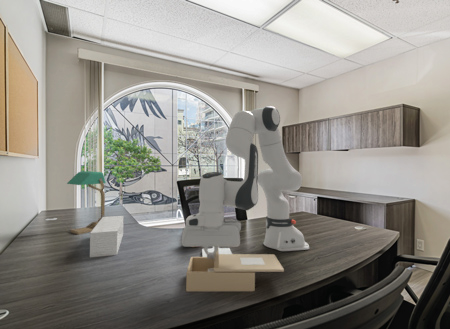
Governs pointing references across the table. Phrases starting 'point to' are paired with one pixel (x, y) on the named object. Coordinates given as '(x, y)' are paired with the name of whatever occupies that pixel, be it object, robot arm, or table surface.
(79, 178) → the banker's lamp
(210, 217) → the robot arm
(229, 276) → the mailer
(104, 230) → the stack of papers
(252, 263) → the lid
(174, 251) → the table surface
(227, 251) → the mounting plate
